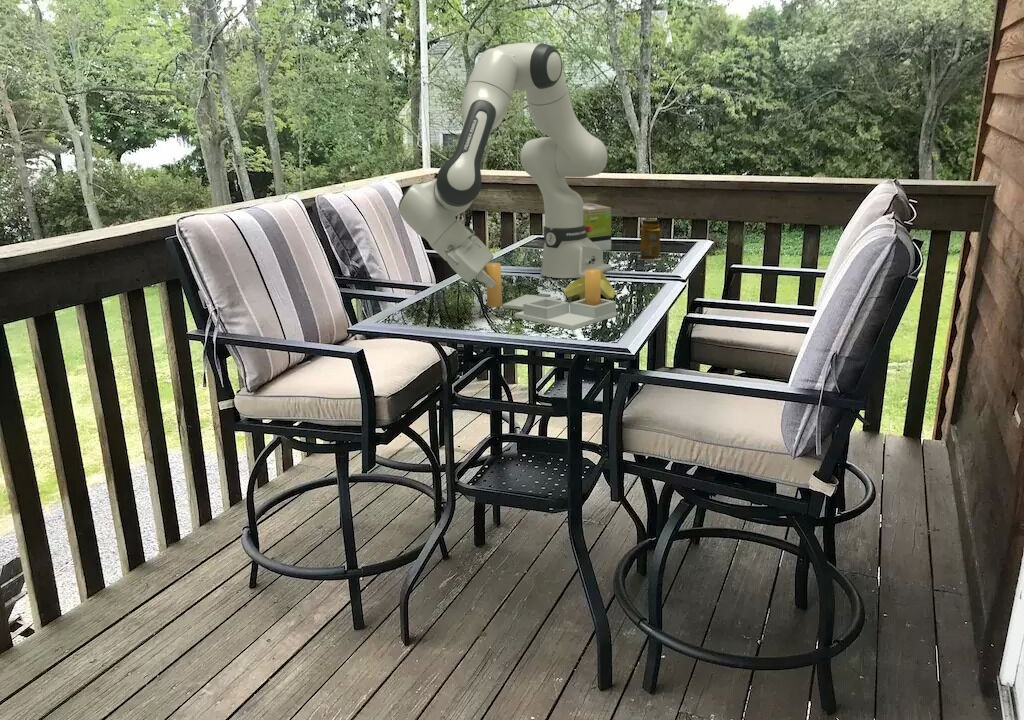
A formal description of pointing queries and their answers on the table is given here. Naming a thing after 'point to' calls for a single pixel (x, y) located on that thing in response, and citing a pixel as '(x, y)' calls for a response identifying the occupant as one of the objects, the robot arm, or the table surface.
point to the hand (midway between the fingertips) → (496, 283)
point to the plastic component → (578, 288)
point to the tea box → (598, 224)
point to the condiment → (650, 240)
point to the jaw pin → (496, 292)
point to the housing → (572, 307)
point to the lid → (526, 300)
